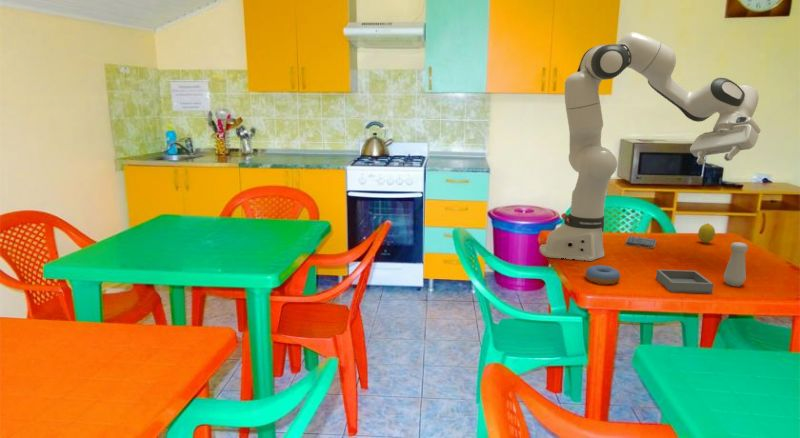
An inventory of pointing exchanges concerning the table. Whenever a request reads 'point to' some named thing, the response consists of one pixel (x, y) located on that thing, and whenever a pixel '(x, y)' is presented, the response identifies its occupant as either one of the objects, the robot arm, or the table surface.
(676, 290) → the tray
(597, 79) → the robot arm
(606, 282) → the doughnut
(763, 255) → the table surface
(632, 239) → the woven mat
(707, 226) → the lemon
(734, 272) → the salt shaker
